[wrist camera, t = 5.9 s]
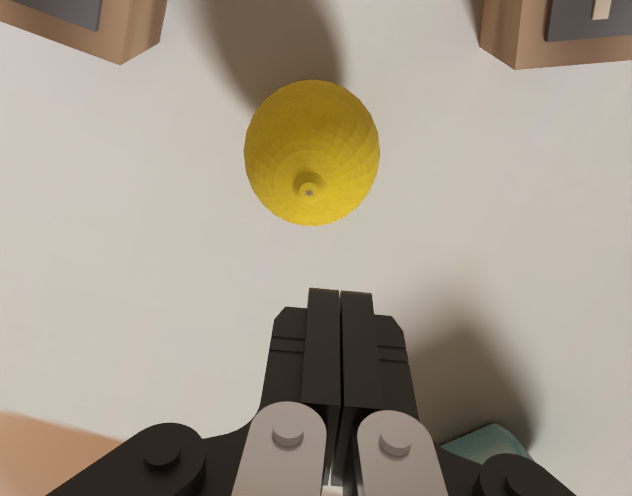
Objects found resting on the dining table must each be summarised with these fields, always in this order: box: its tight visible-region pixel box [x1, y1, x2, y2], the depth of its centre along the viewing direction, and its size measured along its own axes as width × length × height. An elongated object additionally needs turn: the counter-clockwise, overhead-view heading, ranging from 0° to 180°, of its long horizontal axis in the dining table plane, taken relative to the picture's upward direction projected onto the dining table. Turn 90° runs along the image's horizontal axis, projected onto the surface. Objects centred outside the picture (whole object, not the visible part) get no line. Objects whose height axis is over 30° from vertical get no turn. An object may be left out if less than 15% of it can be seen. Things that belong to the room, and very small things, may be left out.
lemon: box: [244, 79, 380, 226], centre depth 21 cm, size 6×6×8 cm
